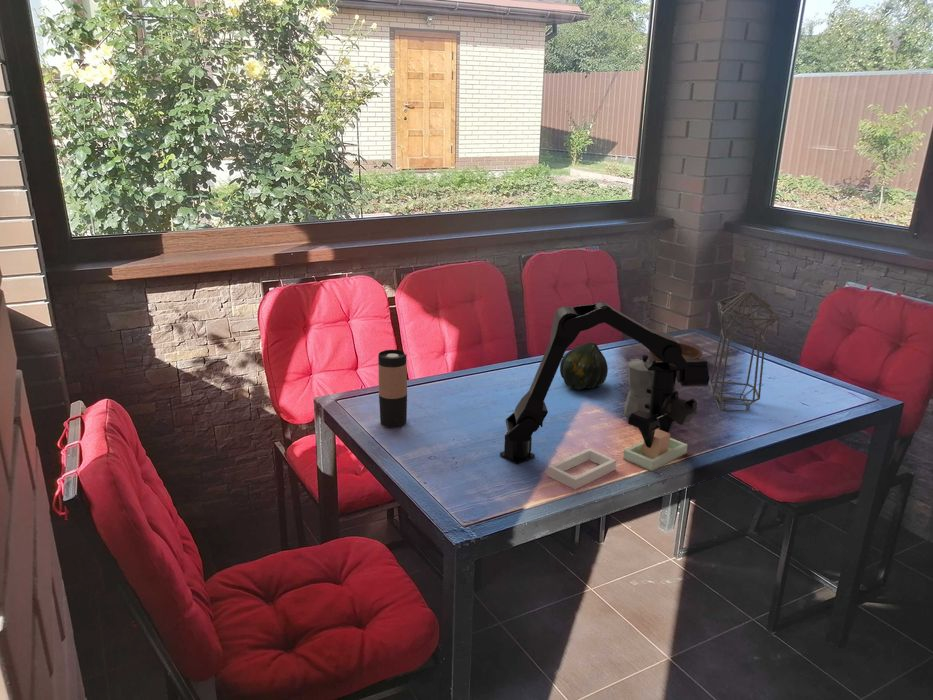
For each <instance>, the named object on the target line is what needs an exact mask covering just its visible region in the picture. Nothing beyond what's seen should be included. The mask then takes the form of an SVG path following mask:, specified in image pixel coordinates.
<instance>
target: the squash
mask: <svg viewBox="0 0 933 700" xmlns="http://www.w3.org/2000/svg"><path fill="white" fill-rule="evenodd" d="M608 371H609V367H608V362H607V359H606V357H605V356H604V354H603V352H602V351H601V350H600V348H599V345H597V343H596V342H593V341H592V342H591V341H590V342H585V343H582V344H580V345H578V346H576V347H574V348H573V349H571V350H569V351H568V352H567V353H564V355H563V357H562V360H561V362H560V364H559V373H560V376H561V378H562V379H563V382H564V384H565V386H566V387H567V388H568V389H577V390H584V389H585V388H586V389H593V388H596V387H599V386H602V385H603V384H604V383H605V382H606V379H607V377H608V373H609V372H608Z"/></svg>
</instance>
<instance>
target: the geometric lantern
mask: <svg viewBox="0 0 933 700" xmlns="http://www.w3.org/2000/svg"><path fill="white" fill-rule="evenodd" d="M751 298H753V299H754V300H755V301H756V302H757V303H758V304H752V299H751ZM729 300H731V301H729ZM728 301H729V302H728ZM747 302H748V304H747ZM743 303H744V304H743ZM715 304H717V310H718V320H719V322H720V326H721V329H720V334H719V340H718V345H717V348H716V353H715V357H714V363H713V369H712V373H711V377H710V380H709V385H710V386H709V387H710V390H711V395H712V396H713V398H715V403H716V405H717V407H718V410H720V411H727V412H728V411H729V412H730V411H731V412H746V413H747V412H748V411H749V410H750V407H751V404H754V403H755V402H757V401H759V400H760V399H761V393H762V391H761V390H762V380H763V369H764V362H765V361H764V359H765V351H766V350H765V348H766V343H767V341H766V340H765V338H766V334H767V330H768V328H769V326H770V327H772V326H773V324H775V322H777V320H778V321H779V320H781V318H780V317H779V316H778V315H777V314H776V313H775V312H774V311H773V309H772V306H771V304H769V303H767V302H766V301H765V300H764V299H763V298H761V297H759V296H758V295H757V294H756V293H755V292H754V291H751V290H746V291H745V290H744V291H743V292H740V293H736V294H735V295H732V296H729V297H726V298H723V299H721V300H717V301H715ZM737 307H738V310H736V309H737ZM741 307H742V311H741ZM753 307H758V308H756V309H755V310H753ZM746 308H749V309H748V312H747V313H745V310H746ZM762 309H763V310H765V312H766V313H768V317H767V318H766V317H761V318H760V317H759V318H754V314H755V313H756V312H758V311H760V310H762ZM730 310H731V311H730ZM728 311H730V312H729V313H728ZM726 313H728V314H727V315H726ZM732 313H735V314H732ZM724 317H725V318H729V319H731V321H730V323H729V324H728V326H727V327H726V328H724V324H723V318H724ZM736 318H739V319H740V322H738V321H737V320H736ZM743 320H748V321H749V322H750V325H751V326H747V325H746V326H743V322H744V321H743ZM754 321H761V322H759V323H757V324H755V325H754ZM762 321H763V322H762ZM733 323H735V324H736V325H738V326H739V327H738V328H737V329H731V328H730V327H731V325H732V324H733ZM762 325H764V326H763V328H762V329H761V331H760V332H759V331H757V329H756V328H757V327H759V326H762ZM745 329H751V330H745ZM729 331H733V333H731V335H730V336H728V332H729ZM737 332H746V333H753V334H754V337H753V342H752V341H742V340H733V339H731V337H732V336H733V335H735V334H736V333H737ZM763 332H764V334H763ZM758 335H759V336H758ZM722 339H723V341H722ZM731 342H732V343H733V342H734V343H745V344H752V350H751V356H750V360H749V367H748V372H747V378H746V383H744V382H733V381H732V382H731V381H725V377H726V371H727V363H728V354H729V350H730V349H729V347H730V343H731ZM721 344H722V346H721ZM756 345H757V351H756V358H755V359H756V361H755V369H754V370H755V371H754V382H753V385H752V384H750V383H749V381H750V374H751V371H752V364H753V360H754V359H753V357H754V353H755V347H756ZM761 345H762V351H761ZM725 347H726V350H725ZM720 348H721V350H720ZM719 351H720V352H719ZM760 351H761V362H760V373H759V383H758V390H757V380H758V370H759V359H760ZM724 352H725V357H724ZM719 353H720V356H719ZM718 357H719V361H718ZM723 357H724V358H725V359H724V366H723V374H722V380H720V381H719V375H720V371H721V365H722V361H723ZM717 362H718V365H717ZM716 367H717V369H716ZM715 372H716V375H715ZM714 375H715V379H714ZM713 380H714V381H713ZM718 384H721V386H720V387H721V388H720V390H719V386H718ZM724 384H725V385H726V384H727V385H739V386H744V388H743V390H742V392H741V393H740V392H739V393H736V392H724ZM747 387H749V388H751V389H750V390H749V391H748V392H746V393H745V390H746V388H747ZM716 389H717V390H716ZM751 392H752V399H748V398H747V395H749V394H750V393H751ZM744 393H745V394H744ZM723 395H737V396H739V397H731V396H723ZM742 396H743V397H742ZM756 397H757V398H756ZM724 400H727V401H739V402H740V401H741V402H743V403H734V402H725V401H724ZM746 402H747V403H746ZM719 403H720V405H719ZM722 405H723V408H722ZM726 405H736V406H737V405H738V406H745V407H746V408H745V409H727V408H726Z"/></svg>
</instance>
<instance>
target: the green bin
mask: <svg viewBox="0 0 933 700" xmlns="http://www.w3.org/2000/svg"><path fill="white" fill-rule="evenodd" d="M643 445H644V440H642V441H640V442H638V443H635V444H633V445H632V446H630V447H627V448H625V449H624V450H623V457H622V459H623V460H624V461H627V462H630V463H632V464H633V465H636V466H638V467H639V468H643V469H645V470H646V471H647V470H648V471H650V472H653V471H656V470H657V469H659V468H661V467H663V466H665V465H667V464H669V463H671V462H672V461H674V460H676V459H678V458H680V457H682V456H684V455H686V454H687V452H688V444H687V443H686V442H685V443H684V442H682V441H679V440H678V439H675V438H672V437H670V443H669V451H668V452H666V453H664V454H662V455H660V456H658V457H656V458H654V459H652V458H650V457H648V456H645V455H643Z"/></svg>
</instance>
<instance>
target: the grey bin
mask: <svg viewBox="0 0 933 700" xmlns="http://www.w3.org/2000/svg"><path fill="white" fill-rule="evenodd" d="M587 461H591V462H593V463H595V464H597V466H595V467H593V468H590V469H589V470H587V471H585V472H582V473H580V474H578V475H577V476H574V475H572V474H571V473H569V472H566V471H568V470H569V469H572V468H574V467H576V466H579V465H581V464H582V463H585V462H587ZM616 468H617V459H614V458H612V457H610V456H608V455H605V454H603V453H601V452H598V451H597V450H594V449H592V448H590V447H588V448H586V449H584V450H581V451H579V452H577V453H575V454H573V455H571V456H568V457H565V458H564V459H561V460H559V461H557V462H555V463H552V464H551V465H549V466H548V467H547V477H549V478H551V479H553V480H556V481H557V482H559V483H561V484H563V485H565V486H567V487H570V488H571V489H573V490H577V489H579V488H581V487H583V486H585V485H587V484H589V483H592V482H593V481H595V480H598V479H599V478H601V477H603V476H605V475H608V474H609V473H611V472H613V471H615V470H616Z"/></svg>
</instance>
